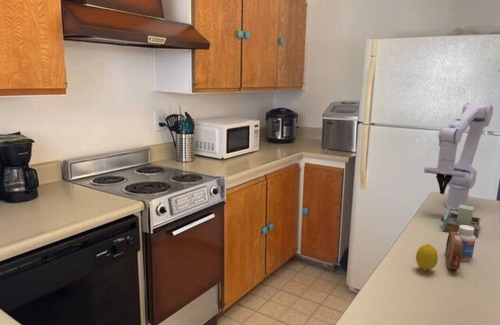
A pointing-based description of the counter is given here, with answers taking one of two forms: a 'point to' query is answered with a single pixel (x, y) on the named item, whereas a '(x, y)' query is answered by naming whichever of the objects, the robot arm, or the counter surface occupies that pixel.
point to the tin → (454, 250)
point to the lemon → (426, 257)
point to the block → (464, 215)
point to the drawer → (452, 220)
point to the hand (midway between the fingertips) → (442, 193)
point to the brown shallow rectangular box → (456, 227)
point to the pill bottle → (467, 241)
